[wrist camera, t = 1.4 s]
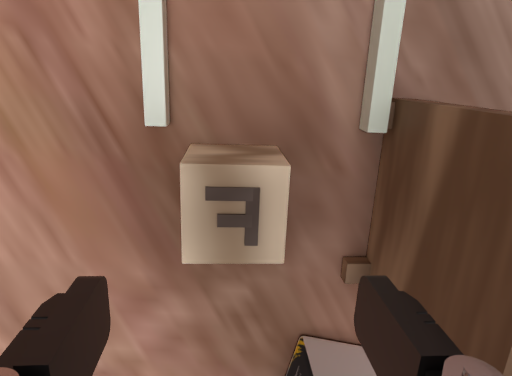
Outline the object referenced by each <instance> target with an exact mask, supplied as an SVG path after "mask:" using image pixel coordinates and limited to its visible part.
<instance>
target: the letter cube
mask: <svg viewBox="0 0 512 376" xmlns="http://www.w3.org/2000/svg"><path fill="white" fill-rule="evenodd" d="M290 170H291V166H290V164H289V163H288V161H287V160H286V158H285V157H284V155H283V154H282V152H281V151H280V149H279V148H278V146H265V145H227V144H190V146H189V148H188V150H187V151H186V153H185V155H184V157H183V159H182V160H181V162H180V197H181V241H182V264H284V255H285V241H286V226H287V212H288V198H289V184H290Z"/></svg>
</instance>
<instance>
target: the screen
mask: <svg viewBox="0 0 512 376" xmlns="http://www.w3.org/2000/svg"><path fill="white" fill-rule="evenodd" d="M372 275H385V276H387V277H388V278H389V279H390V280H391V282H392V283H393V284H394V285H395V287H396V288H397V289H398V290H399V291H404V292H406V293H407V294H409V295H410V296H412V297H413V298H415V299H416V300H418V301H419V302H420V304H421V305H422V306H423V307H424V308H425V309H426V311H427V313H428V314H430V315H431V317H432V318H433V319H434V320H435V322H436V324H438V325H439V326H440V327H441V328H442V329H443V331H444V332H445V333H446V334H447V335H448V337H449V338H450V339H451V340H452V341H453V342H454V344H455V345H456V346H457V347H458V348H459V350H460V351H461V352H462V353H463V354H464V355H466V356H471V357H474V358H477V359H480V360H482V361H484V362H486V363H488V364H490V365H491V366H493V367H494V368H496V369H497V370H498V371H499V372H501V373H502V374H503V375H504V376H512V112H510V111H502V110H494V109H487V108H479V107H472V106H464V105H456V104H449V103H441V102H434V101H426V100H418V99H404V98H392V100H391V107H390V114H389V121H388V127H387V133H384V137H383V144H382V151H381V157H380V164H379V171H378V178H377V185H376V192H375V199H374V206H373V213H372V220H371V227H370V234H369V241H368V248H367V254H366V257H343V263H342V271H341V278H342V280H343V281H344V283H345V284H359V281H360V278H361V277H362V276H372Z"/></svg>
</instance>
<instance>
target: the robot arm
mask: <svg viewBox="0 0 512 376" xmlns="http://www.w3.org/2000/svg"><path fill="white" fill-rule="evenodd" d="M354 326H355V332H356V335H357V337H358V339H359V341H360V343H361V345H362V347H363V349H364V351H365V353H366V355H367V357H368V359H369V361H370V363H371V365H372V367H373V369H374V371H375V373H376V375H377V376H504V375H503V374H502V373H501V372H499V371H498V370H497V369H496V368H494V367H493V366H491V365H490V364H488V363H486V362H484V361H482V360H480V359H477V358H474V357H471V356H466V355H464V354H463V353H462V352H461V351H460V350H459V348H458V347H457V346H456V345H455V344H454V342H453V341H452V340H451V339H450V338H449V337H448V335H447V334H446V333H445V332H444V331H443V329H442V328H441V327H440V326H439V325H438V324H436V322H435V320H434V319H433V318H432V317H431V315H430V314H428V313H427V311H426V309H425V308H424V307H423V306H422V305H421V304H420V302H419V301H418V300H416V299H415V298H413V297H412V296H410V295H409V294H407V293H406V292H404V291H399V290H398V289H397V288H396V287H395V285H394V284H393V283H392V282H391V280H390V279H389V278H388V277H387V276H385V275H372V276H362V277H361V278H360V281H359V287H358V294H357V301H356V307H355V314H354ZM109 332H110V310H109V299H108V288H107V280H106V278H105V277H104V276H79V277H77V278H76V279H75V281H74V282H73V283H72V285H71V286H70V288H69V289H68V290H67V292H66V293H57V294H56V295H54V296H53V297H51V298H50V299H48V300H47V301H46V302H44V303H43V304H41V305H40V307H39V308H38V309H37V311H36V312H35V313H34V314H33V316H32V317H31V319H29V321H28V322H27V323H26V324H25V326H24V327H23V330H21V331H20V332H19V333H18V334H17V336H16V337H15V338H14V340H13V341H12V342H11V343H10V345H9V346H8V347H7V348H6V350H5V351H4V352H3V353H2V355H1V356H0V376H92V375H93V372H94V370H95V368H96V366H97V363H98V361H99V359H100V356H101V354H102V352H103V350H104V347H105V345H106V343H107V340H108V337H109Z"/></svg>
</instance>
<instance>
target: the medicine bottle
mask: <svg viewBox="0 0 512 376" xmlns="http://www.w3.org/2000/svg"><path fill="white" fill-rule="evenodd" d="M286 376H377V375H376V373H375V371H374V369H373V367H372V365H371V363H370V361H369V359H368V357H367V355H366V353H365V351H364V349H363V347H362V346H358V345H352V344H347V343H341V342H336V341H330V340H325V339H319V338H313V337H308V336H301V337H300V338H299V340H298V343H297V346H296V349H295V352H294V354H293V357H292V360H291V363H290V366H289V368H288V371H287V374H286Z"/></svg>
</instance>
